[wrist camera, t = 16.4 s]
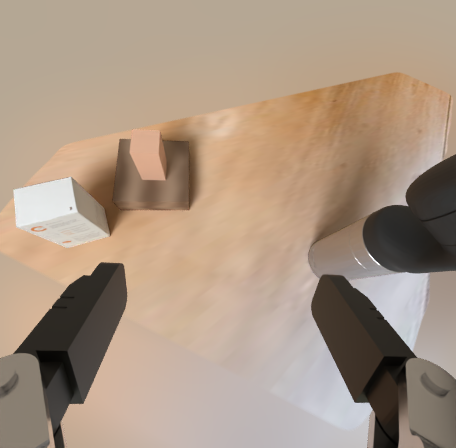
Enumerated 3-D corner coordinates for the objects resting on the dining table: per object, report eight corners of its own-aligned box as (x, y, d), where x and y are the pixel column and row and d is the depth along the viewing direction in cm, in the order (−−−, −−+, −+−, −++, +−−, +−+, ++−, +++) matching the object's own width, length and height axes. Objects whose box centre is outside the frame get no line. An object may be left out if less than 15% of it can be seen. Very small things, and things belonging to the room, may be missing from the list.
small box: (105, 208, 47) (72, 175, 35) (111, 236, 46) (78, 212, 33) (61, 219, 45) (11, 188, 33) (66, 249, 44) (15, 228, 32)
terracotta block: (166, 160, 47) (160, 130, 39) (165, 180, 46) (158, 153, 37) (144, 159, 47) (132, 129, 38) (142, 179, 45) (129, 152, 37)
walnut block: (189, 155, 54) (188, 141, 49) (189, 210, 50) (188, 201, 45) (126, 153, 52) (119, 138, 48) (120, 211, 48) (112, 201, 43)
